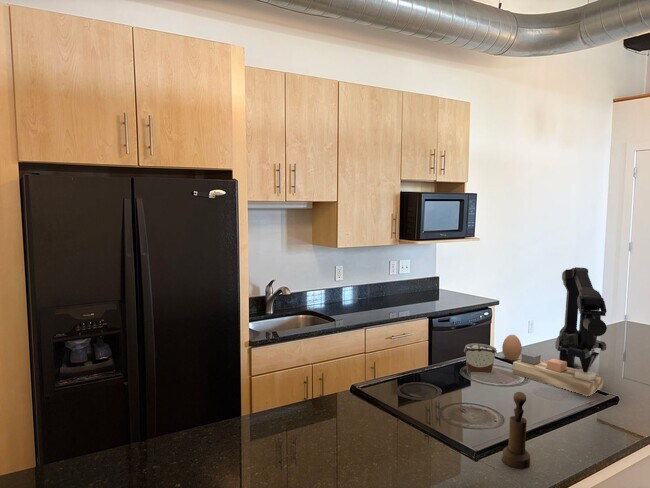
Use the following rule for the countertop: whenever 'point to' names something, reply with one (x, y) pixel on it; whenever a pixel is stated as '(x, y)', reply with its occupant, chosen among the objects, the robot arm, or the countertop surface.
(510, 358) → the egg
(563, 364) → the terracotta key
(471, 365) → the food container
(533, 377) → the key panel
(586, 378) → the cream key
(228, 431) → the countertop surface
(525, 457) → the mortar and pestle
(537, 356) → the charcoal key
